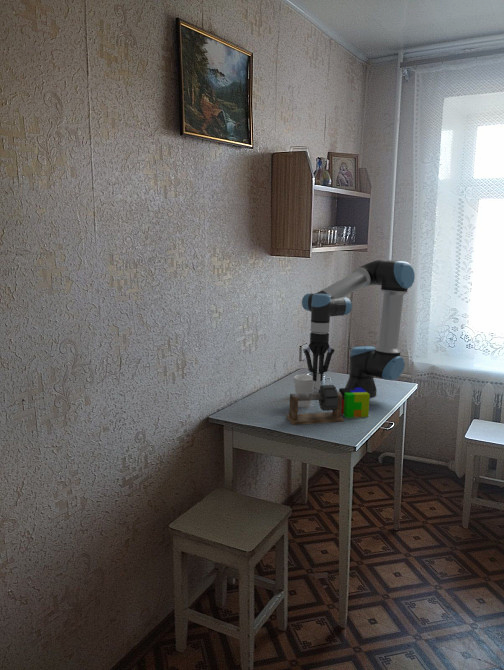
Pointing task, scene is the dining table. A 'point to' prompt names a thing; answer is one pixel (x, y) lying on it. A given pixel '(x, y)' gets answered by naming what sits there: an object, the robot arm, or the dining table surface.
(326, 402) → the dark gray notched block
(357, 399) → the puzzle toy
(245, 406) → the dining table surface
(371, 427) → the dining table surface
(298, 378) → the foam cup
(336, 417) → the pipe rig
